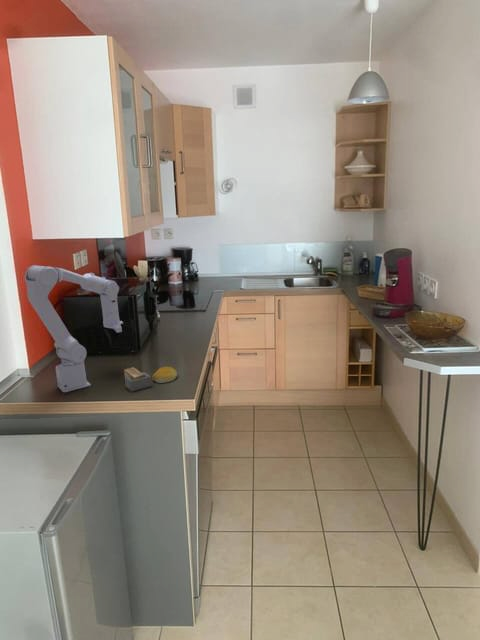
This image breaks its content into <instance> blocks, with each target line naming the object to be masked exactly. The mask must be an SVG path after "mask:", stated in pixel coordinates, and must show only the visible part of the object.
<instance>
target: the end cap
mask: <svg viewBox="0 0 480 640" xmlns="http://www.w3.org/2000/svg"><path fill="white" fill-rule="evenodd" d="M141 373H142V374H144V377H142V378H138V379H135V380H132V379H131V378H129V377H125V376H124V382H125V383H124V384H125V388H127V389H128V390H129V391H130V392H135V391H138V390H143V389H146V388H151V387H153V383H152V382H153V379H152V375H150V374H148V373H146V371H142V372H141Z"/></svg>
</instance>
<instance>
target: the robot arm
mask: <svg viewBox="0 0 480 640" xmlns="http://www.w3.org/2000/svg"><path fill="white" fill-rule="evenodd" d="M23 280H24V281H25V283H26V293H27V300H28V302H29V303H30V305H31V306H32V308H33V309H34V311H35V313H36V314H37V315H38V317H39V320H41V321H42V323H43V325H44V326H45V327H46V330H47V331H48V333H49V334H50V335H51V338H53V340H54V345H53V346H54V347H55V352H56V355H57V357H58V358H59V359H61V360H60V361H61V363H60V364H58V365H55V374H56V381H57V387H58V388H59V389H60V391H61V392H63V393H64V394H65V393H68V392H71V391H75V390H80V389H83V388H88V387H91V383H90V382H89V381H88V380H87V374H86V367H85V366H86V365H85V359H86V357H87V353H88V352H87V349H86V347H84V345H82V344H80V343H79V341H78V340H77V339H76V338H74V337H73V336H72V334H71V333H70V332H69V331H68V330H69V329H68V328H67V327H66V325H65V324H64V322H63V321H62V319H61V317H60V316H59V314H58V313H57V310H55V308H54V306H53V304H52V303H51V301H50V300H49V294H50V293H51V292H52V290H53V289H54V287H55V286H56V284H57V282H58V283H60V282H62V281H66V282H70V283H73V284H78V285H79V286H80V287H81V289H82V290H84V291H89V292H93V293H96V294H98V295H100V303H101V311H102V320H103V321H102V323H103V327H104V328H105V329H103V332H104V333H105V335H106V337H107V339H108V341H109V344H110V346H111V348H112V349H114V348H118V347H119V343H120V336H121V333H122V332H123V329H122V326H121V325H122V324H124V322H123V321H122V320H121V319H120V315H119V314H120V313H119V306H118V305H119V304H118V294H119V290H120V286H119V285H118V283H117V282H116V281H115V280H113V279H107V278H106V277H105V276H97V275H95V273H93V272H89V273H84V274H83V275H82V274H79V273H76V272H73V271H71V270H67V269H64V268H61V267H55V266H54V267H53V266H47V265H46V266H42V265H38V264H37V265H36V264H34V265H31V266H30V267H28V268H27V269H26V272H25V275H24V277H23Z"/></svg>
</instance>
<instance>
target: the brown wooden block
mask: <svg viewBox="0 0 480 640" xmlns="http://www.w3.org/2000/svg"><path fill="white" fill-rule="evenodd" d="M123 371H124V378H125V377H129V378H131V379H132V380H135V379H138V378H142V377H144V374H142V373H143V372H141V371H139V370H138V369H136V368H135V367H129V368H124V369H123Z"/></svg>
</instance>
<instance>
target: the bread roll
mask: <svg viewBox="0 0 480 640" xmlns="http://www.w3.org/2000/svg"><path fill="white" fill-rule="evenodd" d="M177 377H178V373H177V370H176V369H174V368H173V367H171V366H163V367H160V368H158V369H157V370H156V372H154V373H153V374H152V375H151V380H152V382H155V383H157V384H166V383H169V382H172V381H175V380H176V378H177Z"/></svg>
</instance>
